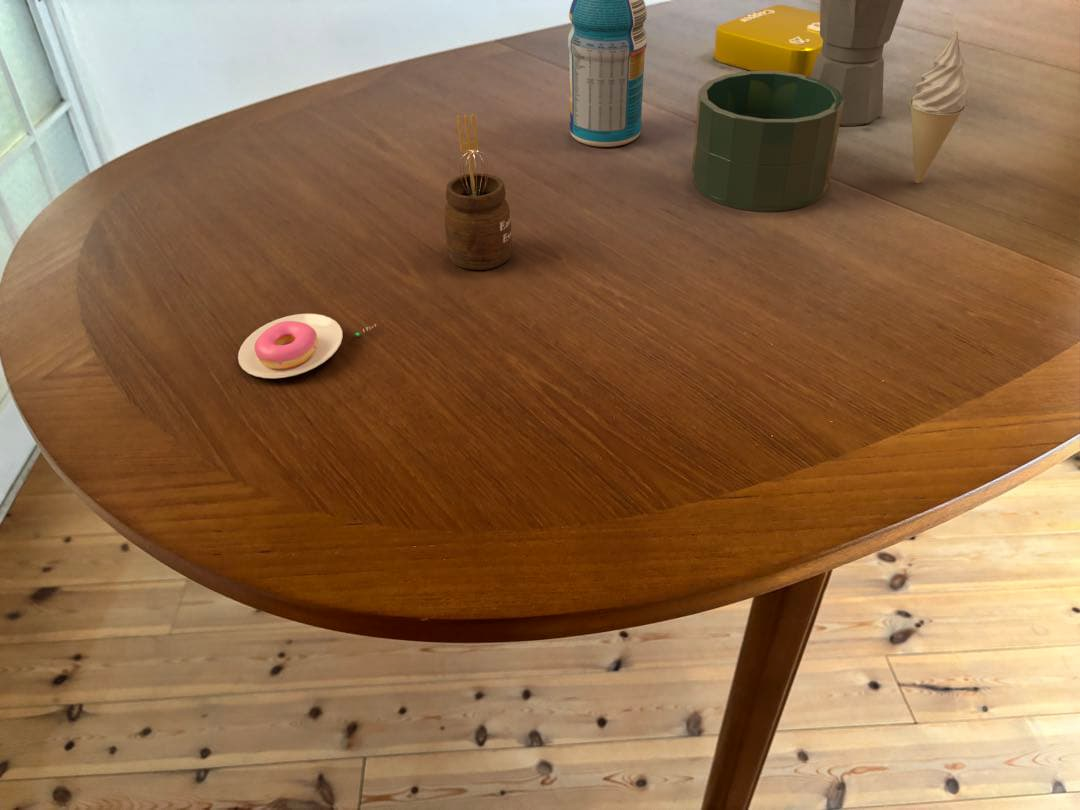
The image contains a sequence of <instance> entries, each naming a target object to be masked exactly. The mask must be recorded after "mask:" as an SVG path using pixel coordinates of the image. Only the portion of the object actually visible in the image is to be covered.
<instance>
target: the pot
mask: <svg viewBox="0 0 1080 810" xmlns="http://www.w3.org/2000/svg"><path fill="white" fill-rule="evenodd" d="M843 103H844V100H843V98H842V96H841V94H840V92H839V90H837V89H836V88H834V87H832V86H831V85H829V84H827V83H826V82H824V81H821V80H818V79H814V78H811V77H807V76H804V75H800V74H793V73H785V72H778V71H749V70H747V71H741V72H735V73H727V74H724V75H721V76H718V77H715V78H713V79H710V80H708V81H706V82H705V83H704V84H703V85H702V86H701V87H700V88H699V89H698V93H697V105H696V116H695V117H696V118H695V130H694V141H693V152H692V153H693V154H692V164H691V165H692V167H691V173H692V175H691V176H692V178H691V182H692V184H693V187H694V188H695V189H696V190H697V191H698V193H699V194H701V195H702V196H703V197H705V198H707V199H708V200H710V201H713V202H715V203H717V204H720V205H722V206H726V207H729V208H733V209H737V210H744V211H750V212H767V213H768V212H785V211H792V210H796V209H801V208H804V207H807V206H810V205H812V204H814V203H815V202H817V201H819V200H820V199H821V198H822V197H824V195H825V194H826V191H827V188H828V185H829V184H830V178H831V173H832V168H833V162H834V157H835V151H836V146H837V142H838V141H837V140H838V135H839V130H840V126H839V125H840V120H841V114H842V109H843Z"/></svg>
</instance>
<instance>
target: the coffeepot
mask: <svg viewBox="0 0 1080 810" xmlns="http://www.w3.org/2000/svg"><path fill="white" fill-rule="evenodd" d="M904 1H905V0H820V2H819V3H820V4H819V13H820V36H821V38H822V39H823V44H822V50H821V53H820V54H819V55H818V56H817V59H816V62H815V65H814V68H813V71H812V74H811V78H814V79H818V80H821V81H824V82H826V83H827V84H829V85H831V86H832V87H834V88H836V89H837V90H839V92H840V94H841V96H842V98H843V100H844V103H843V109H842V114H841V120H840V125H839V127H858V126H863V125H867V124H870V123H873V122H875V121H876V120H878V118H879V116H881V115H883V103H884V101H883V99H884V97H883V96H884V95H883V94H884V71H885V70H884V69H885V61H884V58H883V52H884V47H885V44H887V43H888V42H889V41H890V40H891V37H892V34H893V32H894V29H895V25H896V23H897V20H898V18H899V16H900V15H899V14H900V12H901V9H902V6H903V3H904Z"/></svg>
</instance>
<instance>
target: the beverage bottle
mask: <svg viewBox="0 0 1080 810" xmlns="http://www.w3.org/2000/svg"><path fill="white" fill-rule="evenodd" d="M647 12H648V11H647V7H646V3H645V0H572V1H571V5H570V8H569V13H568V19H569V21H570V22H571V29H570V30H569V33H568V36H567V37H568V38H567V47H568V51H569V52H568V53H569V133H570V135H571V137H572V138H573V139H575V141H577V142H579V143H581V144H584V145H587V146H591V147H599V148H612V147H619V146H624V145H627V144H629V143H632V142H634V141H635V140H637V139H638V138H639V137H640V135H641V132H642V109H643V92H644V91H643V90H644V74H645V73H644V72H645V71H644V70H645V57H646V56H645V54H646V49H647V44H648V37H647V32H646V29H645V28H644V23H645V22H646V19H647V17H648V13H647Z"/></svg>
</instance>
